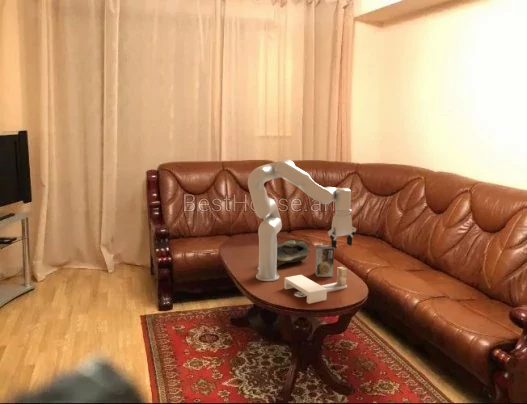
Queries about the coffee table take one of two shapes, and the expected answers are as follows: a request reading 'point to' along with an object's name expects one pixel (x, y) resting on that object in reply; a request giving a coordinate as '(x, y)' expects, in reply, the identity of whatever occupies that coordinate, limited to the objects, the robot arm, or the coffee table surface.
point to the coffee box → (324, 260)
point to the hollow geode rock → (291, 251)
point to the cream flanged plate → (306, 288)
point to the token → (300, 294)
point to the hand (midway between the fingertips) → (341, 246)
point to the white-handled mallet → (338, 280)
